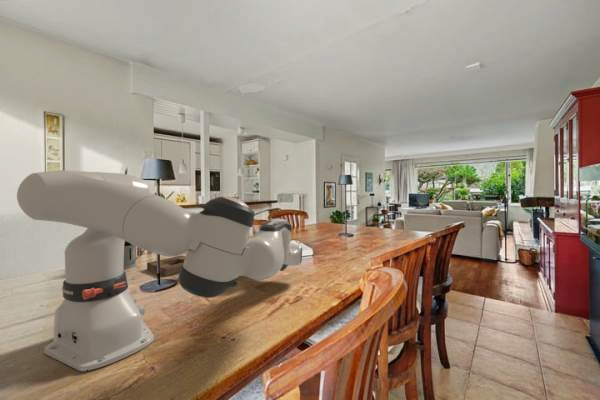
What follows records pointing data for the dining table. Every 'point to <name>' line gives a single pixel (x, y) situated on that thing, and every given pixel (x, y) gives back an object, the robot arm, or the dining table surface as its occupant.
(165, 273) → the walnut collar
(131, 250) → the glass holder
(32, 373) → the dining table surface
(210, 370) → the dining table surface
